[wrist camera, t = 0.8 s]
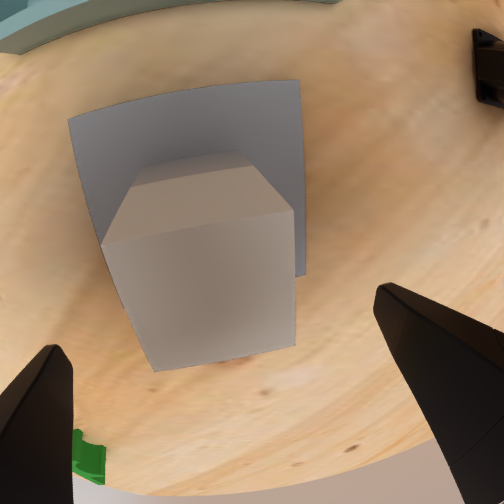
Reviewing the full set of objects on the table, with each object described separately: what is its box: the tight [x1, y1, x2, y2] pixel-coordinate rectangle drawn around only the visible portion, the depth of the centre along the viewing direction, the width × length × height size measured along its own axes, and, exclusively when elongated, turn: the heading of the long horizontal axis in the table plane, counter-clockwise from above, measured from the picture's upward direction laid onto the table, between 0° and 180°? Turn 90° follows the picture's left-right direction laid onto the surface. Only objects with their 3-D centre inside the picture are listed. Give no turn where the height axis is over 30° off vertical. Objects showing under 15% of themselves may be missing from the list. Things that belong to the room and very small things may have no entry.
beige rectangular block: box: [101, 150, 296, 372], centre depth 12 cm, size 5×5×9 cm
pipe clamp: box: [72, 429, 106, 485], centre depth 26 cm, size 11×4×5 cm, turn 18°
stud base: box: [68, 80, 306, 309], centre depth 15 cm, size 12×12×4 cm
